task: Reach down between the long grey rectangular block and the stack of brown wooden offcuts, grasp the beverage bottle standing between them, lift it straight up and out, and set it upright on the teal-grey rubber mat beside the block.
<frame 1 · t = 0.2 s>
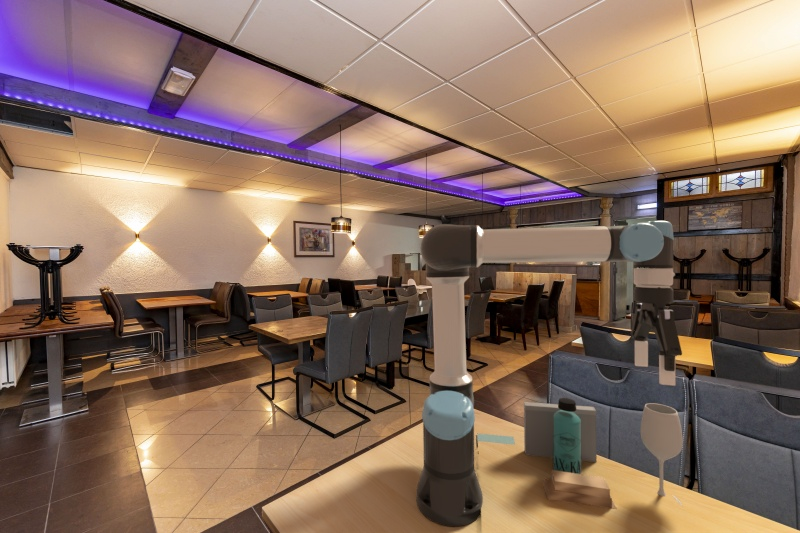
hand: (653, 374, 79), 28 cm above the table, tool pointing down, fingers open, 13 cm apart
offcut bottom: (578, 505, 75), on the table, touching offcut middle
offcut top: (579, 487, 75), point 3 cm above the table, touching offcut middle
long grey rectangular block: (559, 460, 91), on the table
offcut middle: (576, 496, 75), point 1 cm above the table, touching offcut bottom, offcut top
wineglass: (661, 500, 76), on the table
beverage bottle: (567, 478, 84), on the table
mat: (496, 445, 99), on the table
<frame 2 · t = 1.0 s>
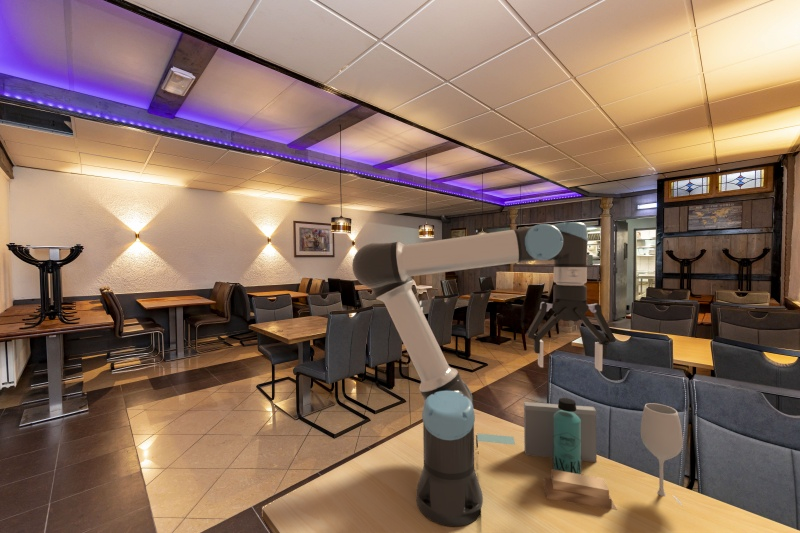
hand: (569, 367, 83), 28 cm above the table, tool pointing down, fingers open, 13 cm apart
offcut top: (578, 487, 75), point 3 cm above the table
offcut middle: (576, 496, 75), point 1 cm above the table, touching offcut bottom
everything else where it was.
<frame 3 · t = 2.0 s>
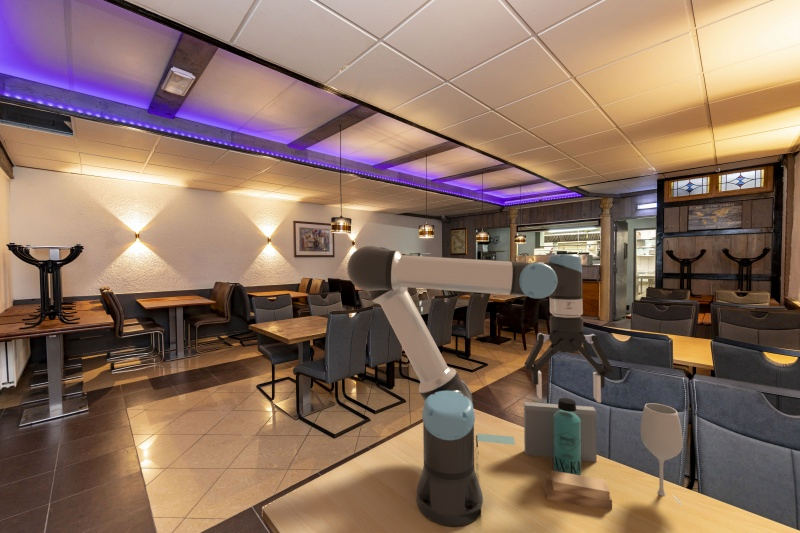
hand: (567, 398, 83), 20 cm above the table, tool pointing down, fingers open, 13 cm apart
nothing on the table moved.
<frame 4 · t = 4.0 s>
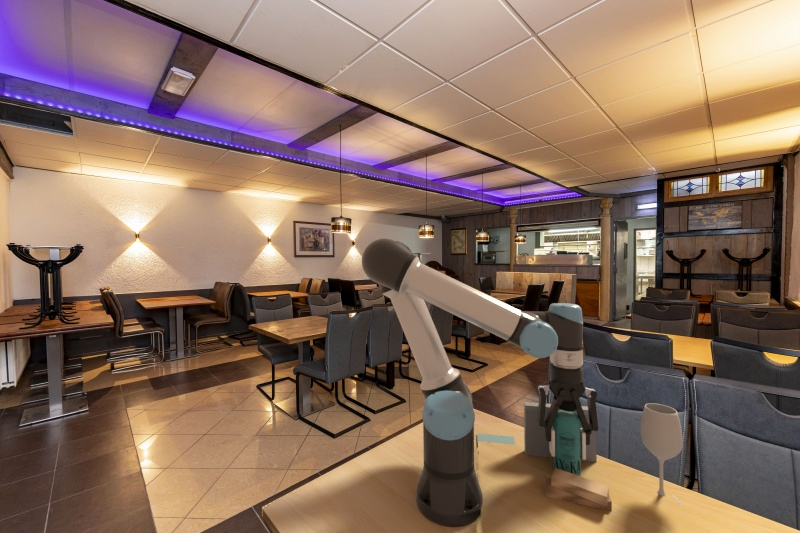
hand: (567, 454, 84), 6 cm above the table, tool pointing down, fingers closed on beverage bottle, 6 cm apart
offcut top: (579, 490, 74), point 3 cm above the table, touching offcut middle
offcut middle: (576, 497, 75), point 1 cm above the table, touching offcut bottom, offcut top
beverage bottle: (567, 478, 84), on the table, touching gripper
everything else where it was.
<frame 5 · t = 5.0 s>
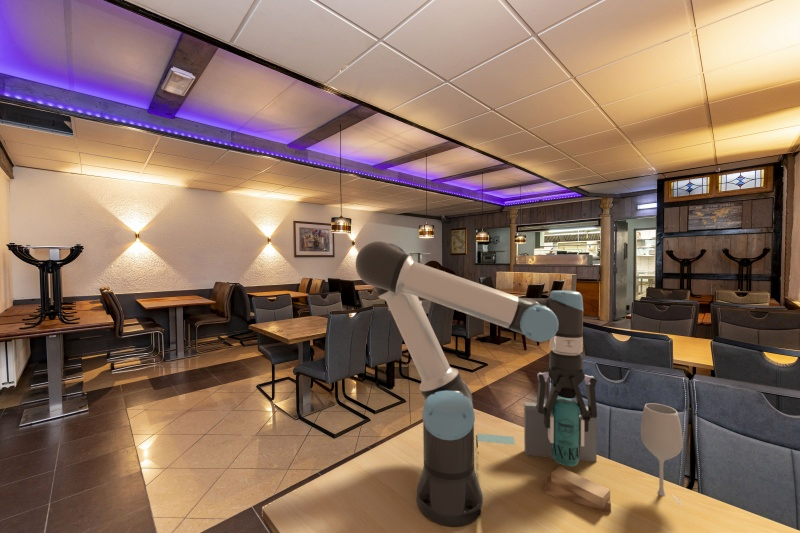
hand: (565, 441, 84), 9 cm above the table, tool pointing down, fingers closed on beverage bottle, 6 cm apart
beverage bottle: (565, 465, 84), point 3 cm above the table, touching gripper
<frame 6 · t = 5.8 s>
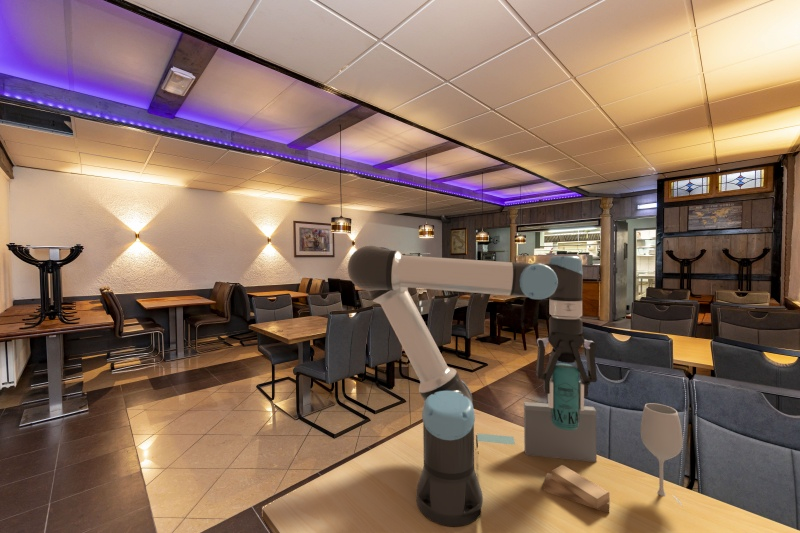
hand: (565, 406, 84), 18 cm above the table, tool pointing down, fingers closed on beverage bottle, 6 cm apart
beverage bottle: (565, 431, 84), point 12 cm above the table, touching gripper
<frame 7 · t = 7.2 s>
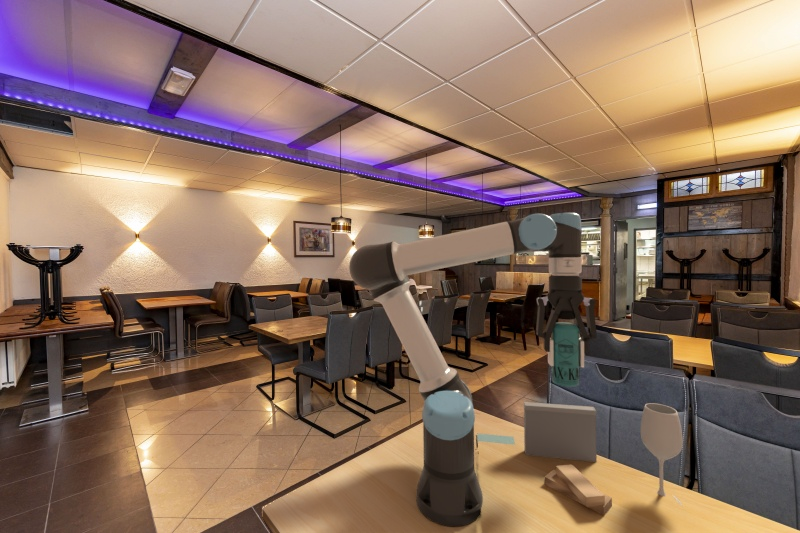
hand: (565, 364, 84), 29 cm above the table, tool pointing down, fingers closed on beverage bottle, 6 cm apart
offcut top: (578, 488, 75), point 3 cm above the table
offcut middle: (576, 495, 76), point 1 cm above the table, touching offcut bottom
beverage bottle: (565, 389, 84), point 23 cm above the table, touching gripper
when the fingers open (8 cm above the table, at t = 11.9 s): beverage bottle drops 1 cm, resting on mat.
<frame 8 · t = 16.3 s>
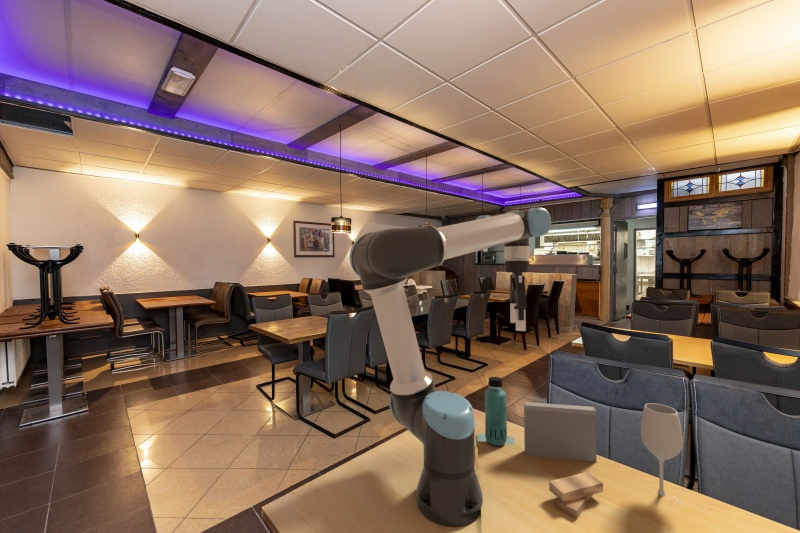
hand: (517, 326, 105), 35 cm above the table, tool pointing down, fingers open, 13 cm apart
offcut bottom: (575, 508, 75), on the table, touching offcut middle
offcut top: (575, 490, 74), point 3 cm above the table, touching offcut middle
offcut middle: (576, 499, 75), point 1 cm above the table, touching offcut bottom, offcut top
beverage bottle: (496, 445, 99), resting on mat
everything else where it was.
at the end: beverage bottle inside the target area on the mat (0.2 cm from its centre), point 0.3 cm above the mat's base; beverage bottle tilted 0°; offcut top moved 1.7 cm from its start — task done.
